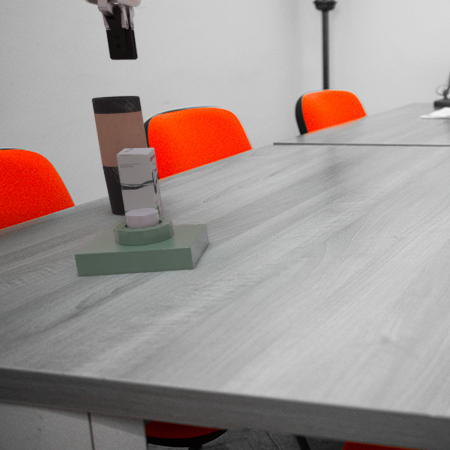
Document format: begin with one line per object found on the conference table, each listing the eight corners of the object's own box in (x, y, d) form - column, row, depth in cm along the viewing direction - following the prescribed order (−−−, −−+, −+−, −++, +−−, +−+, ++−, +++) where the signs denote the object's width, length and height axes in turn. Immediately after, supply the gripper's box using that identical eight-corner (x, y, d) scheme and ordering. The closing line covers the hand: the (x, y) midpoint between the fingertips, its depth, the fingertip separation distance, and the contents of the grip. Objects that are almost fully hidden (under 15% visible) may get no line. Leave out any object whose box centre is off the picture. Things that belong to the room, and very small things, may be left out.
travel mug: (164, 204, 107) (149, 95, 101) (141, 216, 99) (123, 98, 94) (126, 204, 108) (109, 96, 102) (101, 215, 100) (80, 99, 95)
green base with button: (78, 276, 72) (70, 239, 70) (108, 248, 82) (103, 215, 81) (193, 269, 74) (188, 232, 72) (209, 242, 84) (205, 210, 83)
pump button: (123, 231, 74) (120, 216, 74) (132, 223, 78) (130, 208, 78) (155, 229, 75) (153, 214, 74) (163, 221, 79) (161, 207, 78)
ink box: (159, 225, 94) (148, 153, 90) (126, 228, 92) (114, 155, 89) (164, 212, 102) (154, 145, 98) (134, 214, 100) (123, 147, 97)
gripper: (95, -74, 81) (115, 60, 86) (46, -103, 67) (73, 60, 72) (150, -74, 82) (166, 59, 87) (113, -101, 68) (135, 59, 73)
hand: (124, 59), depth 80 cm, fingers closed
